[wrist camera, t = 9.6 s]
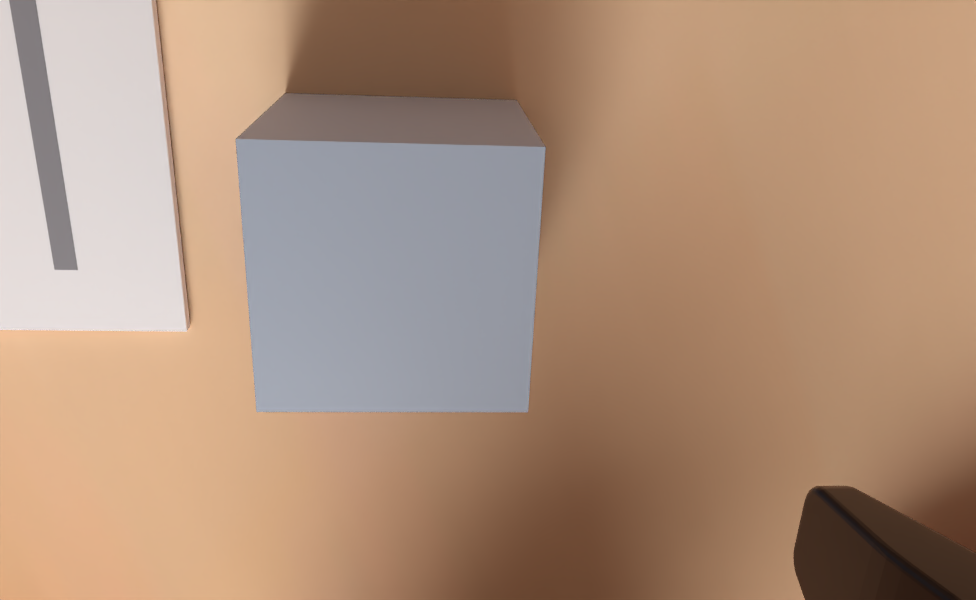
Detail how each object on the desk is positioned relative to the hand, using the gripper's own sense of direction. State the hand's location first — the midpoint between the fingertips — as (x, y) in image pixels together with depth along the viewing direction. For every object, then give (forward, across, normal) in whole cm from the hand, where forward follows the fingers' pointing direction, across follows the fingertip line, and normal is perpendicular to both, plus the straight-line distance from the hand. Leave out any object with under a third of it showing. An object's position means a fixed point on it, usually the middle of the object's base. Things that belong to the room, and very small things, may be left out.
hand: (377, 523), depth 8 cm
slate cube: (+12, 0, 0) cm, 12 cm away
